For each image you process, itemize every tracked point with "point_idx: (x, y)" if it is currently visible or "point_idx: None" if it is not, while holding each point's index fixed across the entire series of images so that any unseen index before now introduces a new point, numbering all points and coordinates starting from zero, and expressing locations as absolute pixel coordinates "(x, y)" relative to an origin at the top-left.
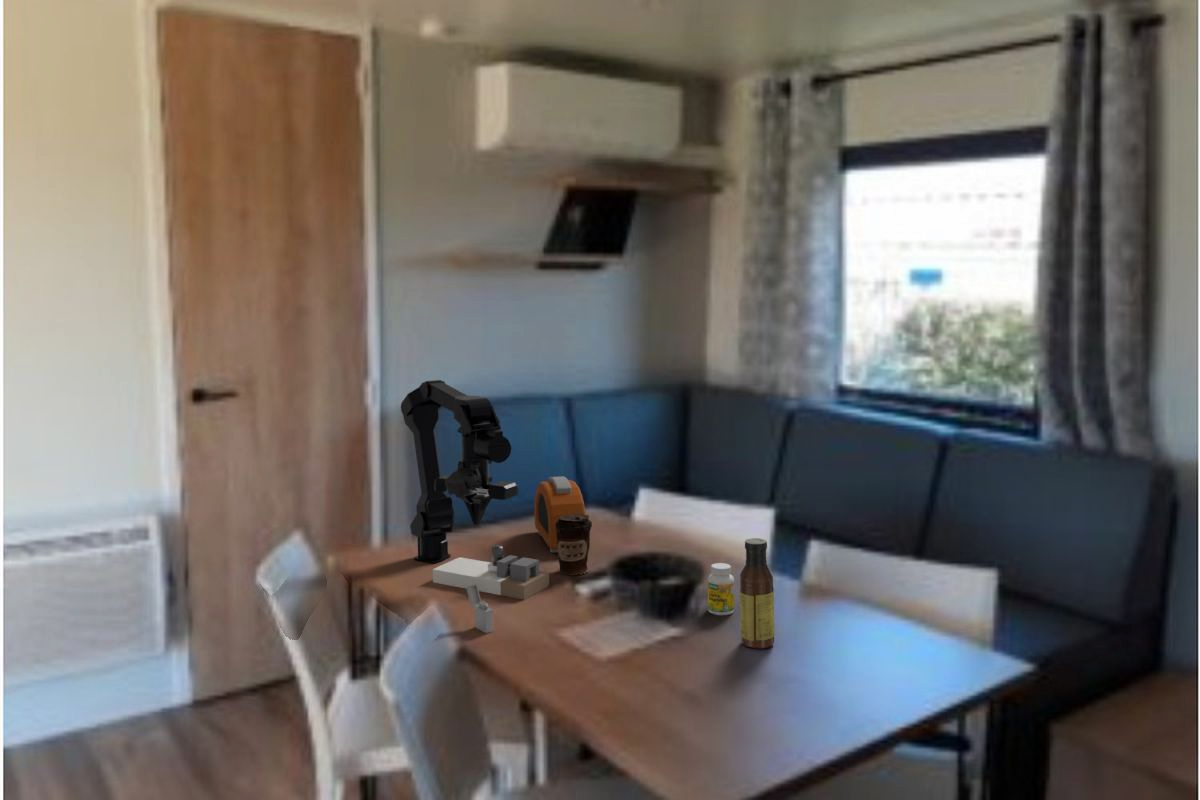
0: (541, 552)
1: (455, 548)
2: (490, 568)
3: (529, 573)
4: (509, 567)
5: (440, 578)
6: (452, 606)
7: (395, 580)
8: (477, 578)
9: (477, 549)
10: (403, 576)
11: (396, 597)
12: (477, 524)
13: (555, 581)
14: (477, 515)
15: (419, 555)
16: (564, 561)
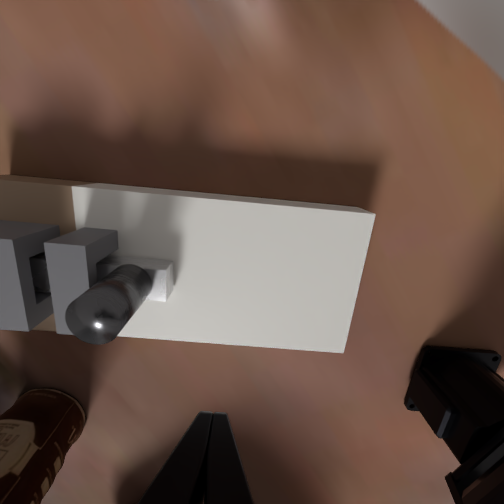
0: None
1: (418, 454)
2: (158, 263)
3: None
4: None
5: (332, 206)
6: (172, 7)
7: (484, 176)
8: (175, 194)
9: (361, 465)
10: (472, 220)
11: (411, 10)
12: (198, 419)
13: (43, 341)
14: (150, 487)
15: (490, 370)
16: (22, 418)
